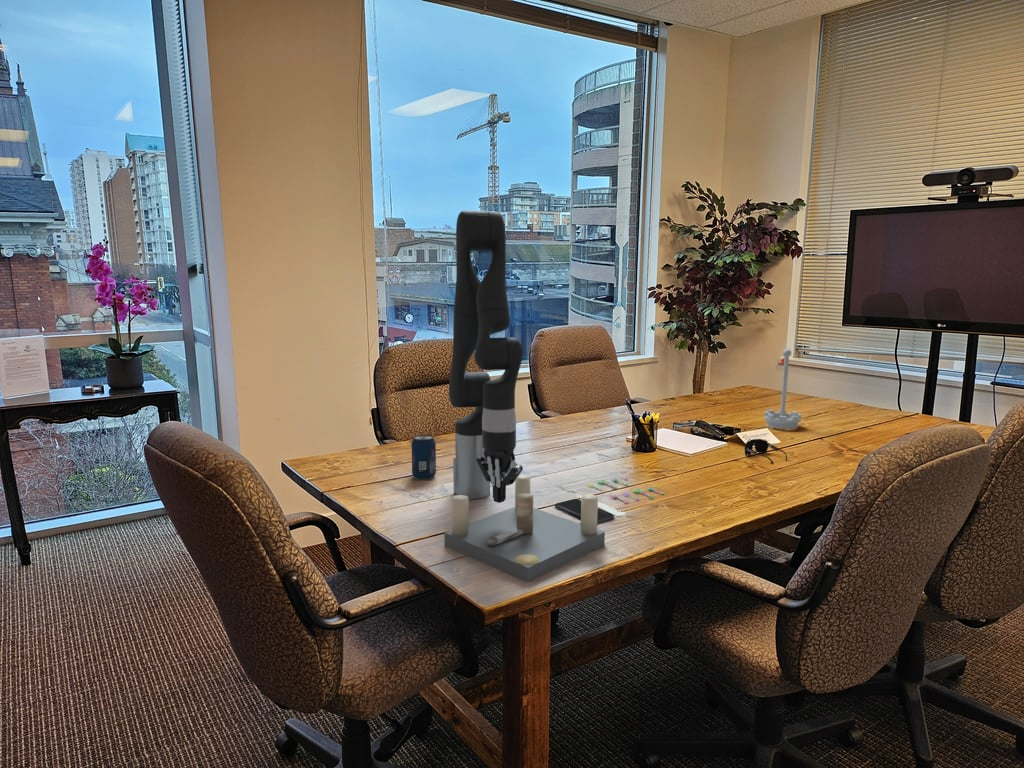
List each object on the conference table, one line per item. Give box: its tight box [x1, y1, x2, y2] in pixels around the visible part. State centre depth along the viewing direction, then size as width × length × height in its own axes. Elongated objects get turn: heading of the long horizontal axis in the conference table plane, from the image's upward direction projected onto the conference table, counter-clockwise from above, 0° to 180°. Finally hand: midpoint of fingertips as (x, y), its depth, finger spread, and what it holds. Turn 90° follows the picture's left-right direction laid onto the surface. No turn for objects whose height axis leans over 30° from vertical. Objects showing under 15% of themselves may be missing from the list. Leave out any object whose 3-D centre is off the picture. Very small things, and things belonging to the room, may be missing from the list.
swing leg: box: [487, 493, 534, 546], centre depth 145 cm, size 13×4×8 cm, turn 136°
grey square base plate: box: [443, 474, 606, 583], centre depth 148 cm, size 25×25×11 cm
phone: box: [554, 498, 615, 525], centre depth 169 cm, size 8×1×15 cm
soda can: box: [410, 434, 437, 481], centre depth 196 cm, size 7×7×12 cm
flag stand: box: [763, 348, 802, 430], centre depth 256 cm, size 13×13×30 cm
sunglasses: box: [744, 438, 788, 464], centre depth 217 cm, size 10×12×5 cm
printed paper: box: [576, 477, 665, 517], centre depth 187 cm, size 30×30×2 cm
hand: (499, 501), depth 153 cm, fingers closed
